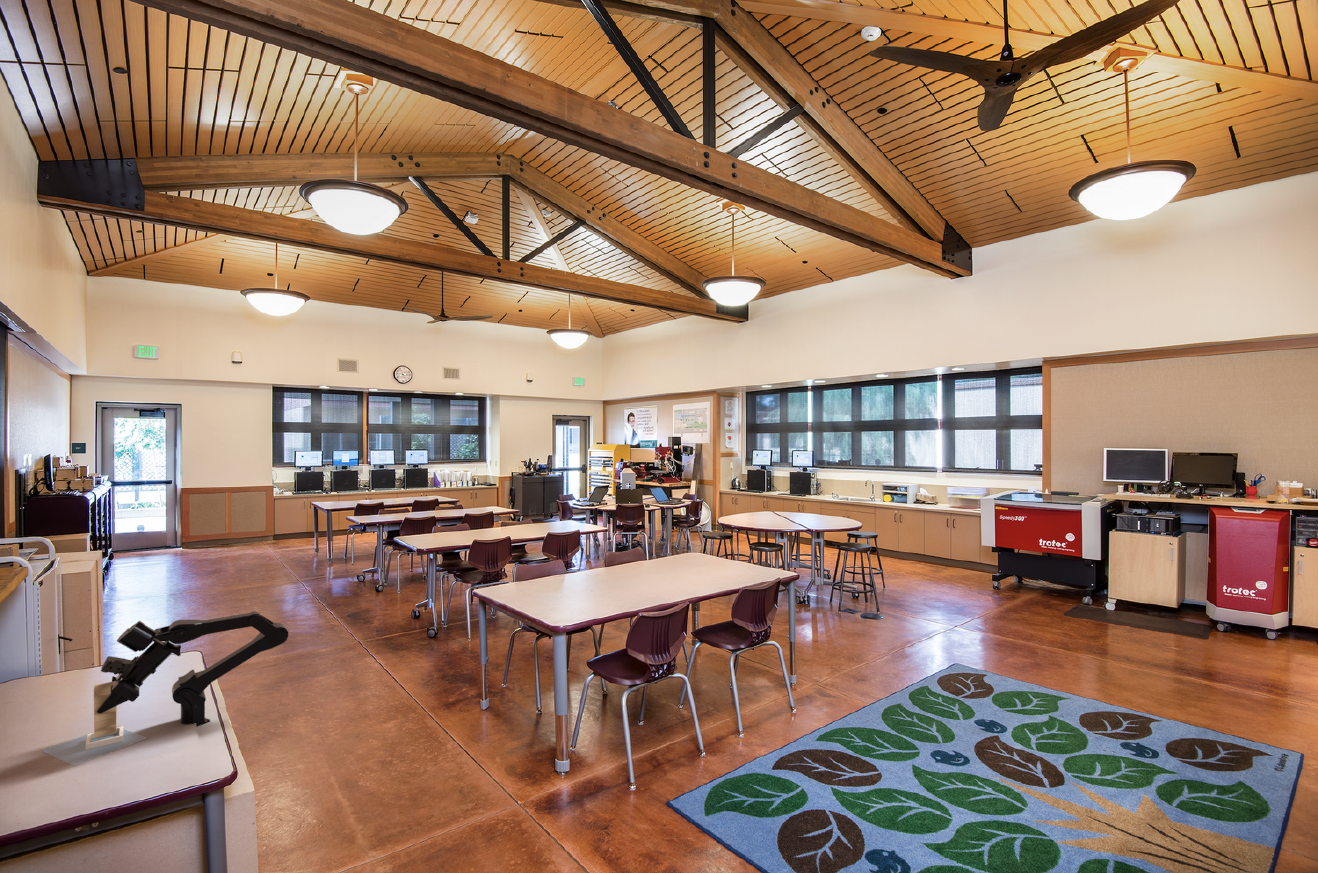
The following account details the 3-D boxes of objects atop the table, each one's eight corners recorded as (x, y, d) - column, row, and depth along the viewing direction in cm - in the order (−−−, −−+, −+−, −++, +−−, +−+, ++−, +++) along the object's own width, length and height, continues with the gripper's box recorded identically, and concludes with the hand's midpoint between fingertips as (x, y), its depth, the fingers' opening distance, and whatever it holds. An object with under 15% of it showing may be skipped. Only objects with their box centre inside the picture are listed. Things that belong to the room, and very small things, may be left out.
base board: (147, 742, 172) (147, 738, 172) (74, 770, 158) (74, 765, 158) (113, 729, 180) (113, 725, 180) (40, 755, 166) (40, 750, 166)
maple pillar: (116, 726, 175) (116, 680, 174) (116, 732, 171) (115, 685, 171) (95, 731, 172) (94, 685, 172) (94, 737, 168) (93, 690, 168)
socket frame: (123, 731, 177) (123, 725, 177) (122, 741, 171) (122, 735, 171) (87, 739, 172) (87, 734, 172) (85, 750, 166) (85, 744, 166)
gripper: (124, 637, 181) (73, 684, 174) (122, 654, 167) (66, 706, 160) (159, 657, 186) (110, 704, 179) (160, 675, 172) (107, 727, 165)
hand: (98, 710), depth 170 cm, fingers closed on maple pillar, 4 cm apart
